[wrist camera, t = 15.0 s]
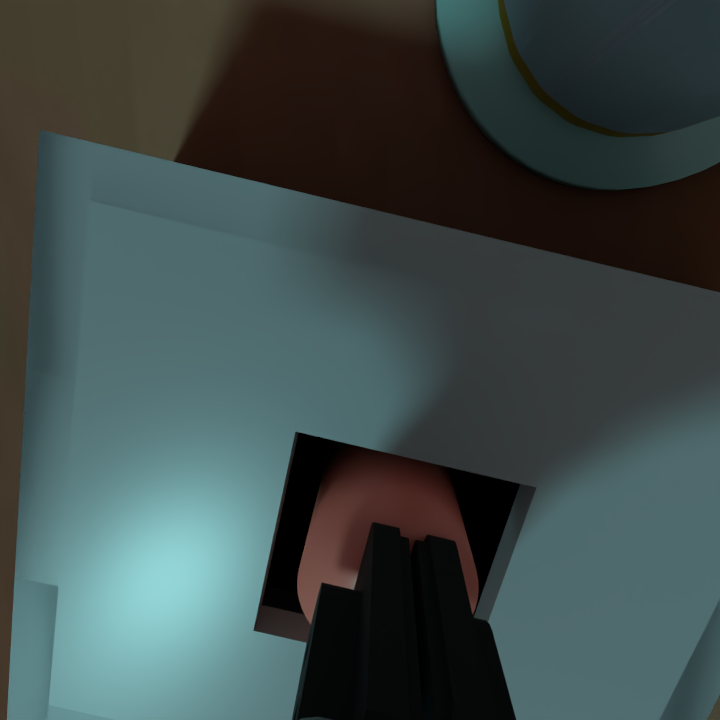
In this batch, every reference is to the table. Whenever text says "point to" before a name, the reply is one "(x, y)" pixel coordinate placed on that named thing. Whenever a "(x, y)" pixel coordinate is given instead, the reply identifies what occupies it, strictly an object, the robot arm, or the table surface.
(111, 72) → the table surface
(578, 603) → the box
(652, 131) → the bottle
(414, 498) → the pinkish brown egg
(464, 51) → the coaster
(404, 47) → the table surface
